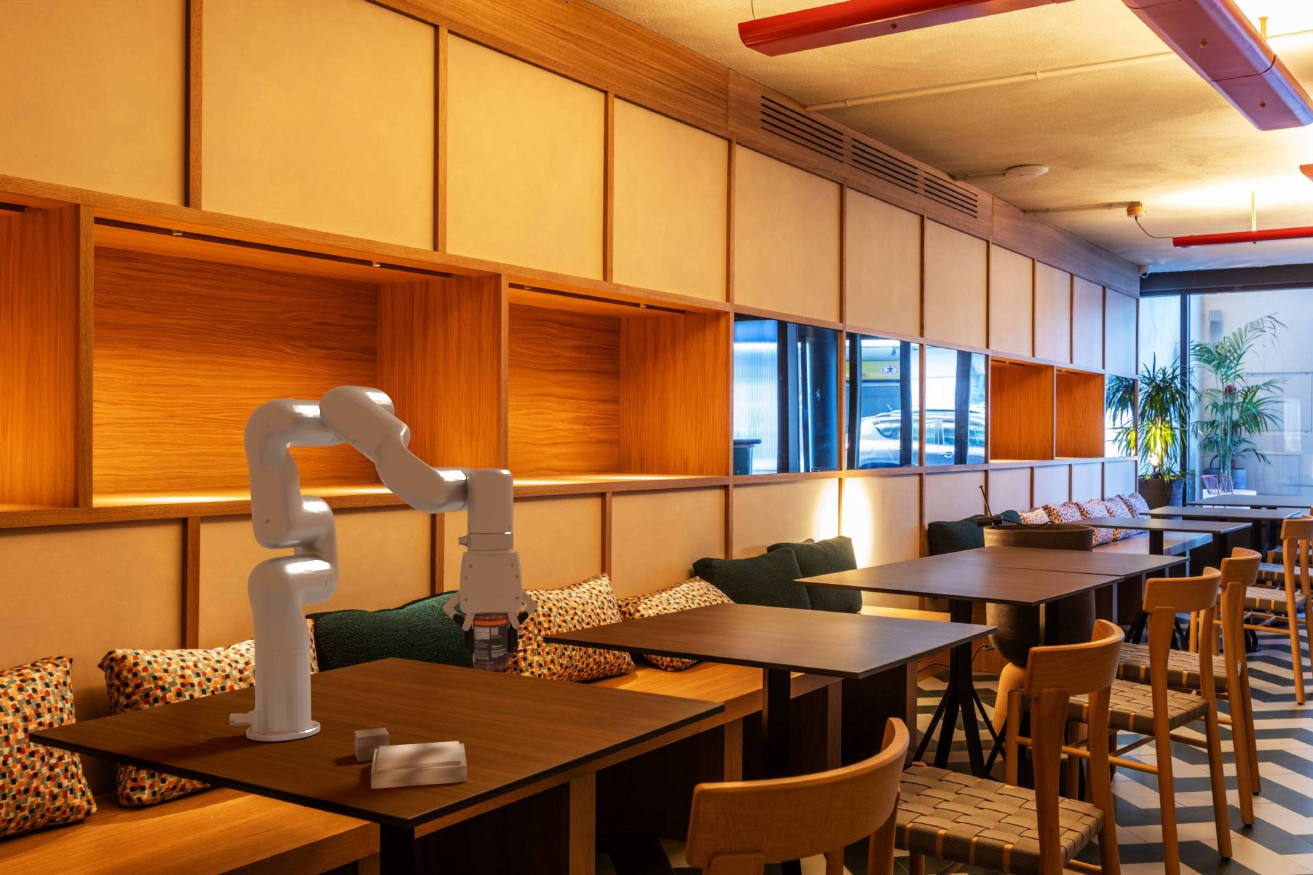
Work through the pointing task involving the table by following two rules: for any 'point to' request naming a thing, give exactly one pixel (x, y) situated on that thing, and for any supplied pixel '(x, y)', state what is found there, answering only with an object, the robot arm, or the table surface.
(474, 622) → the supplement bottle
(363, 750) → the beige block
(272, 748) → the table surface
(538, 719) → the table surface
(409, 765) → the stand
